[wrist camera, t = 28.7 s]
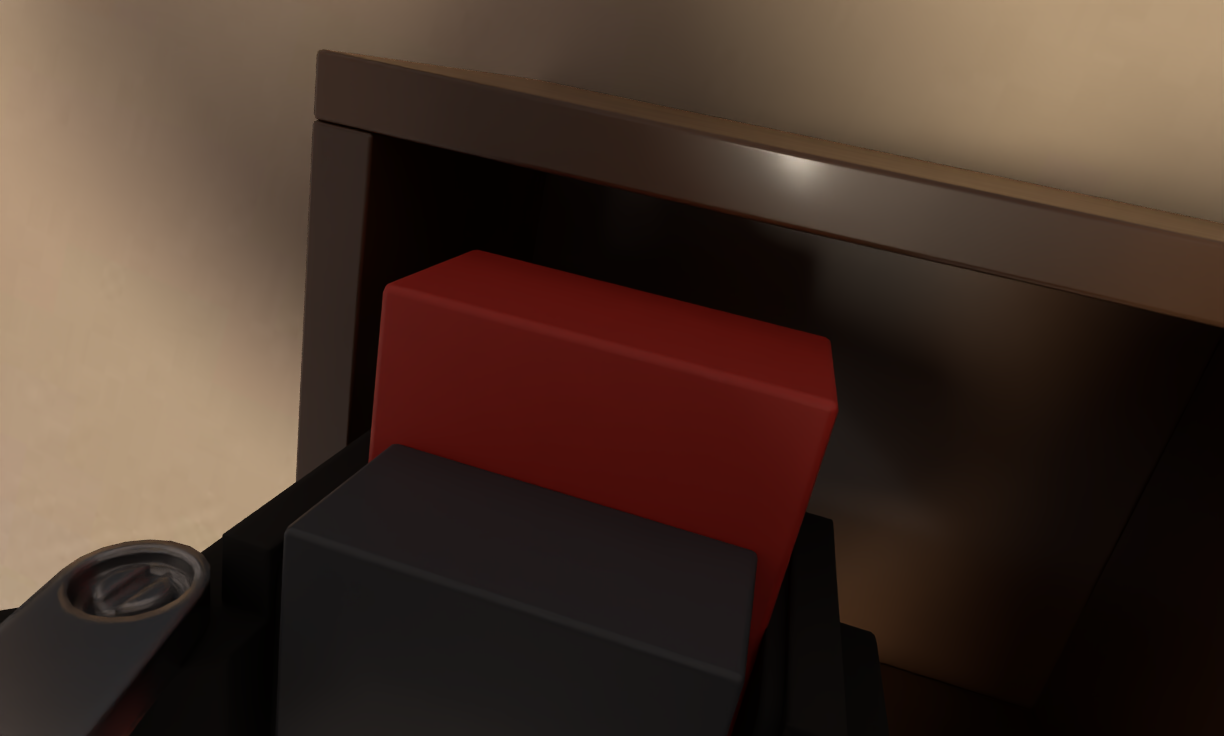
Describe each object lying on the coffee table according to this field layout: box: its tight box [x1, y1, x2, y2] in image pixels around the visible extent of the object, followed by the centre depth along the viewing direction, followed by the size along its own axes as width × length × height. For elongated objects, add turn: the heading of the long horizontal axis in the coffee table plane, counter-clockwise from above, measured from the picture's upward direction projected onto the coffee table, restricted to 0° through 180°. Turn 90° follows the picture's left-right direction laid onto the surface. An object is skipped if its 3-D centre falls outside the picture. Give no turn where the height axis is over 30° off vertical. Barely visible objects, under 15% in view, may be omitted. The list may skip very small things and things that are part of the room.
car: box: [275, 250, 839, 736], centre depth 9 cm, size 8×5×5 cm, turn 169°
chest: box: [296, 49, 1224, 736], centre depth 13 cm, size 15×12×8 cm
